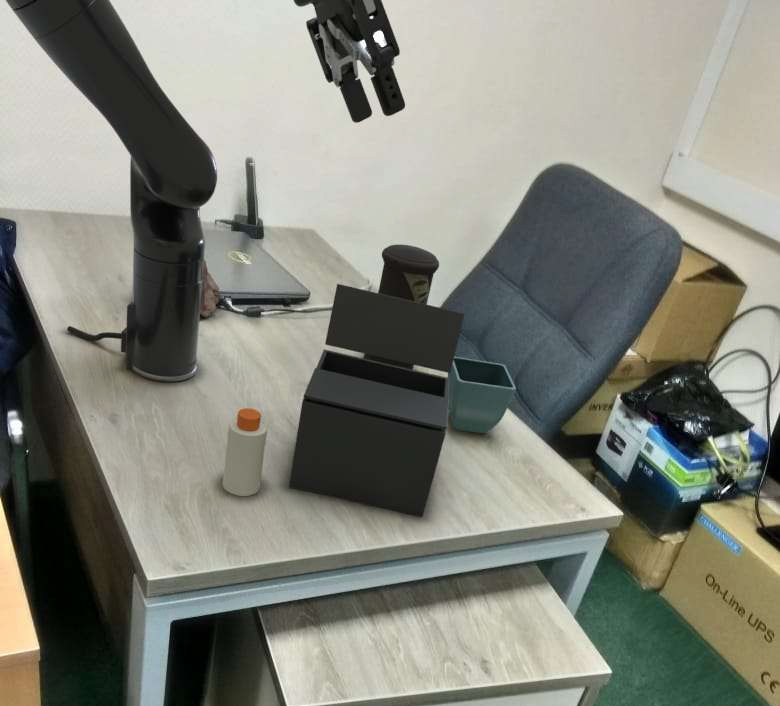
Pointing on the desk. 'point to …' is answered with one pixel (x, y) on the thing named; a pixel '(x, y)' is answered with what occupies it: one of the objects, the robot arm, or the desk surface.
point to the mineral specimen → (208, 293)
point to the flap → (394, 328)
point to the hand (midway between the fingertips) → (379, 116)
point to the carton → (370, 433)
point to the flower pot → (478, 394)
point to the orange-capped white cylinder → (244, 453)
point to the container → (406, 280)
